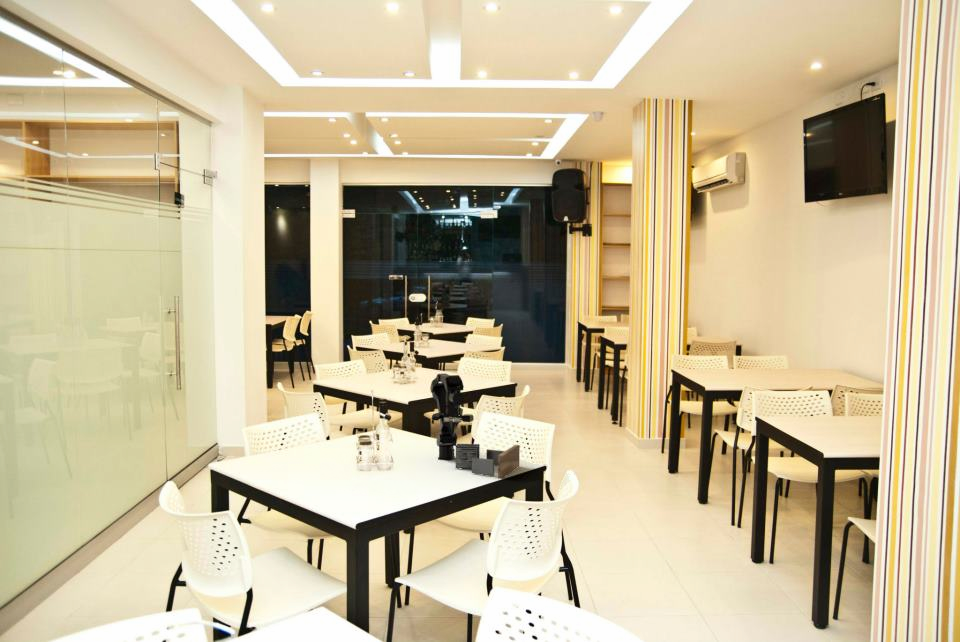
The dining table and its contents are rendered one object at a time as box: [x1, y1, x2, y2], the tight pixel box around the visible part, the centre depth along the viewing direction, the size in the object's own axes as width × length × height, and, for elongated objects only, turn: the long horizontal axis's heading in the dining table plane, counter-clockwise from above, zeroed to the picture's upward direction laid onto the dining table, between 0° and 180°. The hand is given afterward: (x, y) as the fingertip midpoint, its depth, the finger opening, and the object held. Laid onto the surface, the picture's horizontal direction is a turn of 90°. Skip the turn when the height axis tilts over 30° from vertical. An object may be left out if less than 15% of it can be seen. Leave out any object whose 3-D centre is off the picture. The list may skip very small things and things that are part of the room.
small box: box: [455, 443, 481, 470], centre depth 316 cm, size 11×6×10 cm, turn 84°
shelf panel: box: [497, 444, 521, 480], centre depth 308 cm, size 2×22×10 cm, turn 158°
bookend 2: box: [485, 448, 505, 467], centre depth 320 cm, size 10×1×7 cm, turn 67°
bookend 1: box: [471, 457, 495, 477], centre depth 304 cm, size 10×1×7 cm, turn 67°
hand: (452, 436), depth 321 cm, fingers closed
